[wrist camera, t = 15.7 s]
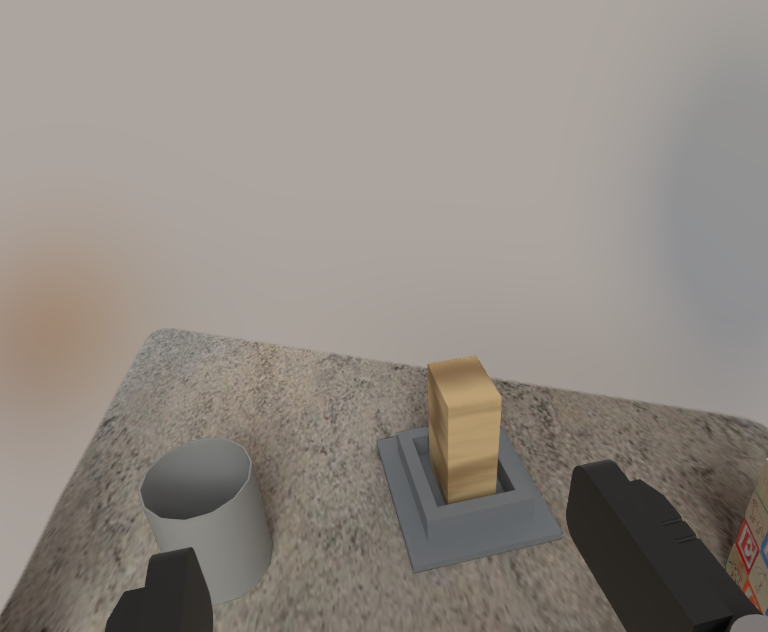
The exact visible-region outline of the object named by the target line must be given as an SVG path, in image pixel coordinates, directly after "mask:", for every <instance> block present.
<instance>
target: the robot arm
mask: <svg viewBox="0 0 768 632" xmlns="http://www.w3.org/2000/svg"><path fill="white" fill-rule="evenodd" d="M566 520H567V525H568V529H569V532H570V535H571V537H572V540H573V542H574V543H575V545H576V547H577V548H578V550H579V552H580V554H581V555H582V557H583V559H584V560H585V562H586V564H587V565H588V567H589V569H590V570H591V572H592V574H593V575H594V577H595V579H596V581H597V582H598V584H599V586H600V587H601V589H602V591H603V592H604V594H605V596H606V597H607V599H608V601H609V602H610V604H611V606H612V608H613V609H614V611H615V613H616V614H617V616H618V618H619V619H620V621H621V623H622V624H623V626H624V628H625V629H626V631H627V632H768V616H765V615H764V614H763V613H761V612H760V611H759V610H758V609H757V608H756V607H755V605H754V604H753V603H752V602H751V601H750V600H749V598H748V597H747V596H746V595H745V594H744V592H743V591H742V590H741V589H740V588H739V586H738V585H737V584H736V583H735V581H734V580H733V579H732V578H731V577H730V575H729V574H728V573H727V572H726V570H725V569H724V568H723V567H722V566H721V564H720V563H719V562H718V561H717V560H716V558H715V557H714V556H713V555H712V553H711V552H710V551H709V550H708V549H707V547H706V546H705V545H704V544H703V543H702V541H701V540H700V539H697V538H696V534H695V533H694V532H693V530H692V529H691V528H690V527H689V525H688V524H687V523H686V522H685V521H682V519H681V516H680V515H679V513H678V512H677V511H676V510H675V508H674V507H673V506H672V505H671V504H670V502H669V501H668V500H667V499H666V498H665V496H664V495H662V494H661V493H659V492H658V491H656V490H655V489H654V488H652V487H651V486H649V485H648V484H646V483H645V482H643V481H642V480H641V479H639V480H635V481H629V480H628V478H627V477H626V476H625V475H624V473H623V472H622V471H621V469H620V468H619V467H618V466H617V464H616V463H614V462H613V461H611V460H603V461H598V462H594V463H589V464H584V465H580V466H576V467H575V468H574V470H573V473H572V479H571V486H570V492H569V498H568V504H567V510H566ZM105 632H213V611H212V602H211V596H210V592H209V589H208V587H207V584H206V581H205V578H204V575H203V573H202V570H201V567H200V564H199V562H198V559H197V556H196V553H195V551H194V549H193V548H192V547H188V548H183V549H179V550H174V551H169V552H165V553H160V554H155V555H152V556H151V558H150V560H149V564H148V569H147V576H146V582H145V587H143V588H139V589H134V590H130V591H125V592H124V593H123V595H122V596H121V598H120V600H119V602H118V603H117V605H116V607H115V608H114V610H113V612H112V613H111V615H110V617H109V618H108V620H107V624H106V628H105Z"/></svg>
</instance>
